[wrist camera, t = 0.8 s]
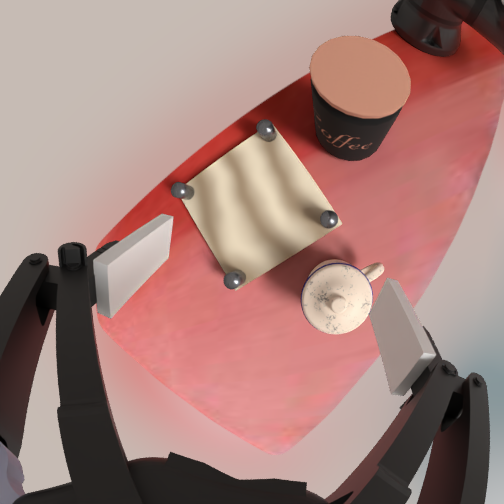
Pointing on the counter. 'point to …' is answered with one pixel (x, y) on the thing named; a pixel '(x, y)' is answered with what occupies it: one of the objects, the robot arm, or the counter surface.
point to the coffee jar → (356, 95)
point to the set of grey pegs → (187, 192)
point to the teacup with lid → (338, 295)
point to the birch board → (257, 206)
